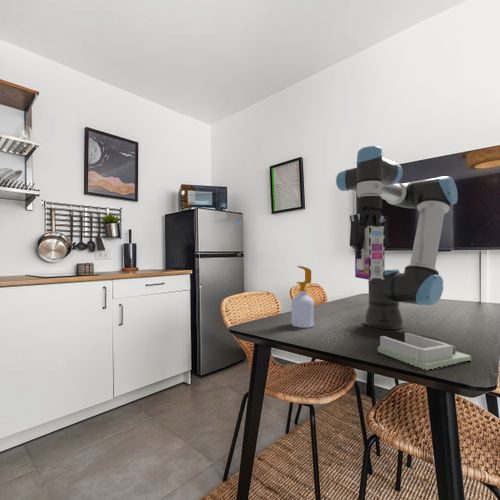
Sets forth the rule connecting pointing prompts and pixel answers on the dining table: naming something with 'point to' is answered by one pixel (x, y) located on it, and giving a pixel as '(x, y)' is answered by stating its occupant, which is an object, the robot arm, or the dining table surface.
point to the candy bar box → (373, 254)
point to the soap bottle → (303, 304)
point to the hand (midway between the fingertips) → (369, 269)
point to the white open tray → (421, 351)
